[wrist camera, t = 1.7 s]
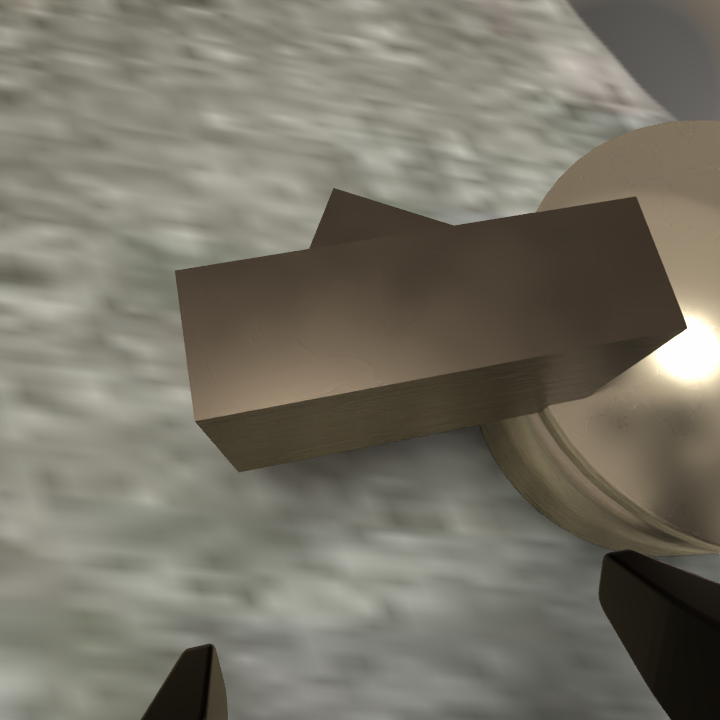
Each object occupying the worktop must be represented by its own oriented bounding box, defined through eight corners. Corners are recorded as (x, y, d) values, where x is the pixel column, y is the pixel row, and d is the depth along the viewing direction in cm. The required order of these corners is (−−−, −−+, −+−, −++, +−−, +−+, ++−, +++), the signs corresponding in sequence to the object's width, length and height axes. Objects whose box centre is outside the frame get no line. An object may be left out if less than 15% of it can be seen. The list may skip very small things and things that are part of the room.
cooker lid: (830, 115, 22) (1013, -51, 16) (1033, 501, 18) (1375, 467, 12) (200, 211, 20) (146, 56, 14) (270, 683, 16) (238, 748, 10)
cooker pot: (810, 292, 27) (940, 216, 21) (778, 606, 23) (929, 616, 17) (371, 156, 28) (382, 49, 22) (264, 433, 24) (245, 388, 18)
